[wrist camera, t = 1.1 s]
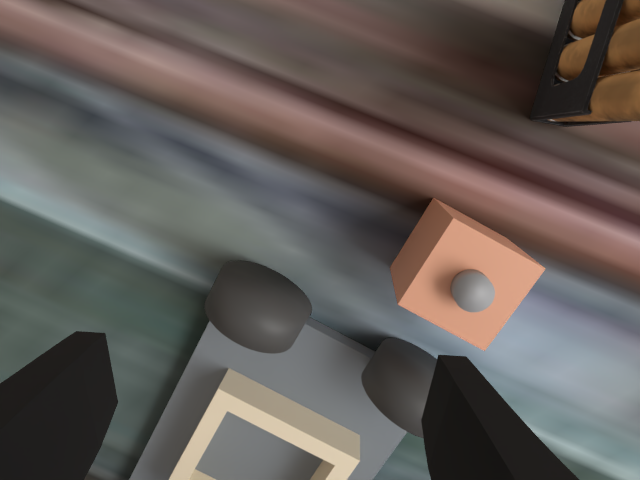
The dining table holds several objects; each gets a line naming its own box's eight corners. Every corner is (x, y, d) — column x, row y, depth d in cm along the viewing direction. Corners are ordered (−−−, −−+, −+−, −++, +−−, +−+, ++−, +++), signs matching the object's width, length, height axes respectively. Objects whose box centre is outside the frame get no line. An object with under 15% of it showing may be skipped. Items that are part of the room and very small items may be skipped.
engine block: (506, 237, 23) (554, 275, 17) (459, 304, 24) (490, 360, 18) (433, 197, 23) (457, 222, 17) (389, 267, 24) (399, 312, 18)
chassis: (454, 366, 25) (477, 425, 20) (289, 593, 31) (276, 682, 26) (236, 250, 24) (206, 283, 19) (109, 506, 30) (61, 580, 25)
